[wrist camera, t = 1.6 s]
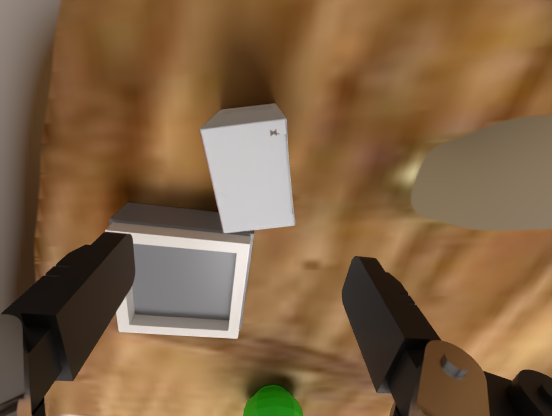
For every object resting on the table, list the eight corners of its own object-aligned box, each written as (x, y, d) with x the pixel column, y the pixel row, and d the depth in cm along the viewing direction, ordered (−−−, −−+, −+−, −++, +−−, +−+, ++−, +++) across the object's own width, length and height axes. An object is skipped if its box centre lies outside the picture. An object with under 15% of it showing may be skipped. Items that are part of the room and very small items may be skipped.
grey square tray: (128, 202, 29) (101, 226, 24) (254, 216, 31) (253, 241, 26) (136, 297, 35) (116, 333, 30) (242, 305, 37) (239, 340, 32)
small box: (219, 108, 26) (196, 125, 16) (277, 102, 26) (287, 114, 16) (233, 185, 29) (221, 236, 20) (284, 180, 29) (296, 227, 20)
